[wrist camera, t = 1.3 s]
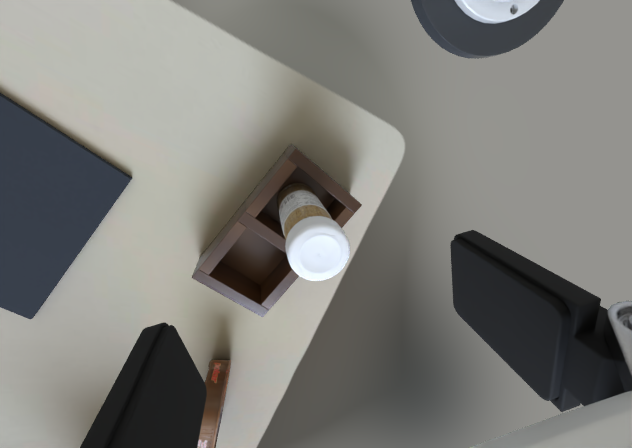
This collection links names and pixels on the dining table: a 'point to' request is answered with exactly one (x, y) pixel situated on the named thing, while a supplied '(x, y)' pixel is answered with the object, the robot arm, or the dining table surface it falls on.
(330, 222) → the sprinkles bottle
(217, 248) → the spice rack
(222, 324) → the dining table surface
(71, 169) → the table mat
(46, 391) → the dining table surface
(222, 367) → the tin
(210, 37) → the dining table surface
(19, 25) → the dining table surface
